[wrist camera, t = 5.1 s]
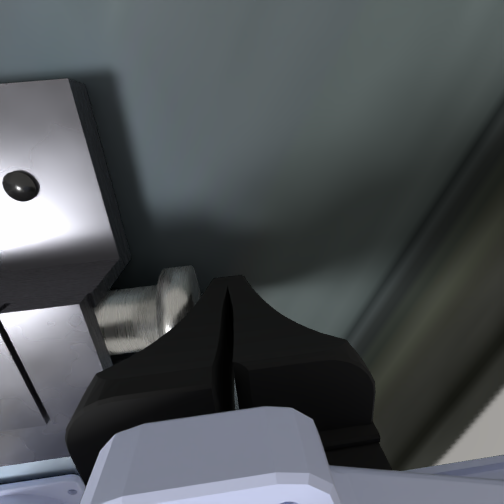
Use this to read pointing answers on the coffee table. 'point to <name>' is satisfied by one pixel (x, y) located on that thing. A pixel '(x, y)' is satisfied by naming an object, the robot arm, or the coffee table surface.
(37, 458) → the hinge leaves
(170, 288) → the hinge pin
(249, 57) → the coffee table surface
